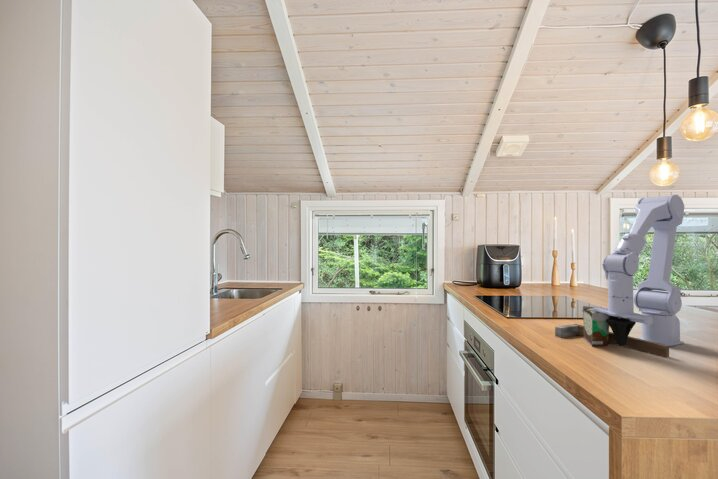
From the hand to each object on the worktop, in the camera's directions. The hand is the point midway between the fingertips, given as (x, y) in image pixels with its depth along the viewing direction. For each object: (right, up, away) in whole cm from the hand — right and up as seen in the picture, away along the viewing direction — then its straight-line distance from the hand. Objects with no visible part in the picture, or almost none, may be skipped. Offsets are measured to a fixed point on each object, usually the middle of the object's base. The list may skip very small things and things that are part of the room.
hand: (621, 344), depth 97 cm
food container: (-2, -2, +6) cm, 7 cm away
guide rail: (-1, -1, +4) cm, 5 cm away
